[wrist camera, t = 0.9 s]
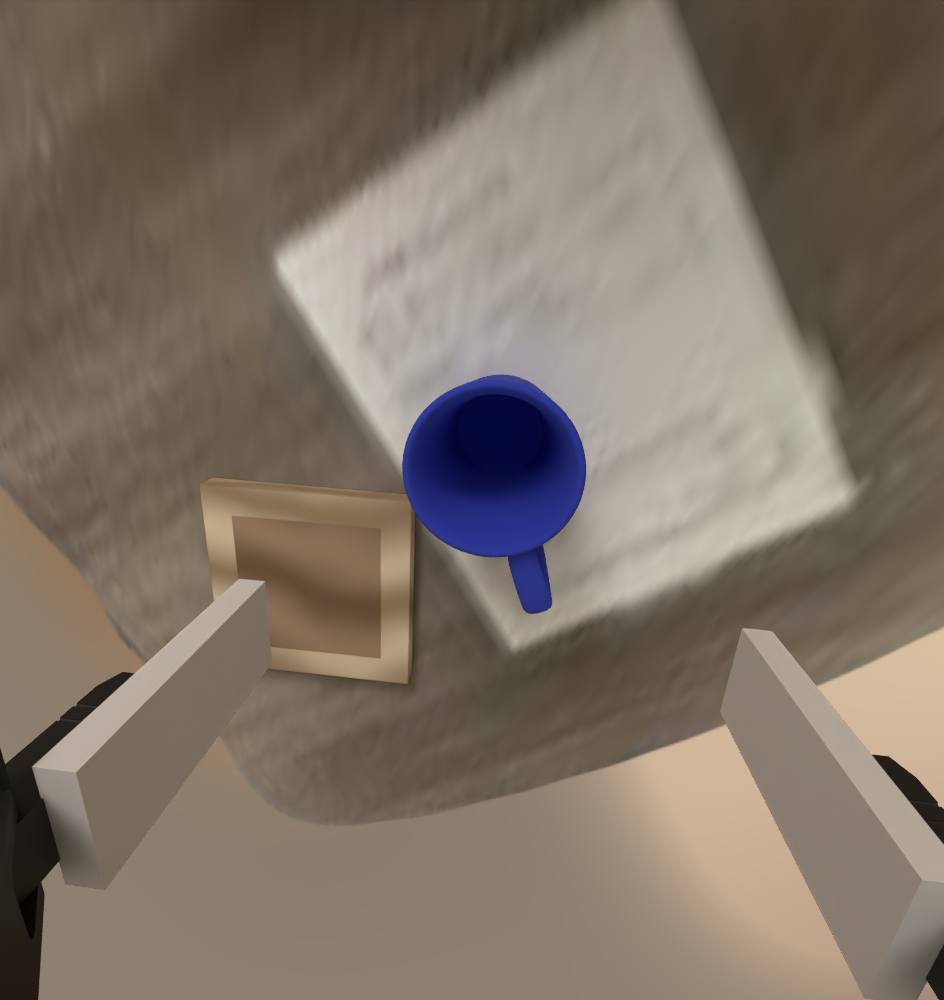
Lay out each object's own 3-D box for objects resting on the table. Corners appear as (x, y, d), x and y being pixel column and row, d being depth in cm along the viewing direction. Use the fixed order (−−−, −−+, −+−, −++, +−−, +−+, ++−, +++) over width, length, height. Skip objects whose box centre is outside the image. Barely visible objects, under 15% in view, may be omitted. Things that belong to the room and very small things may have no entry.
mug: (477, 556, 36) (460, 643, 26) (418, 385, 32) (374, 413, 23) (596, 526, 34) (624, 606, 25) (548, 343, 31) (559, 354, 21)
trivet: (212, 477, 35) (199, 484, 34) (415, 494, 34) (410, 502, 33) (232, 651, 40) (221, 664, 39) (411, 670, 39) (407, 684, 38)
